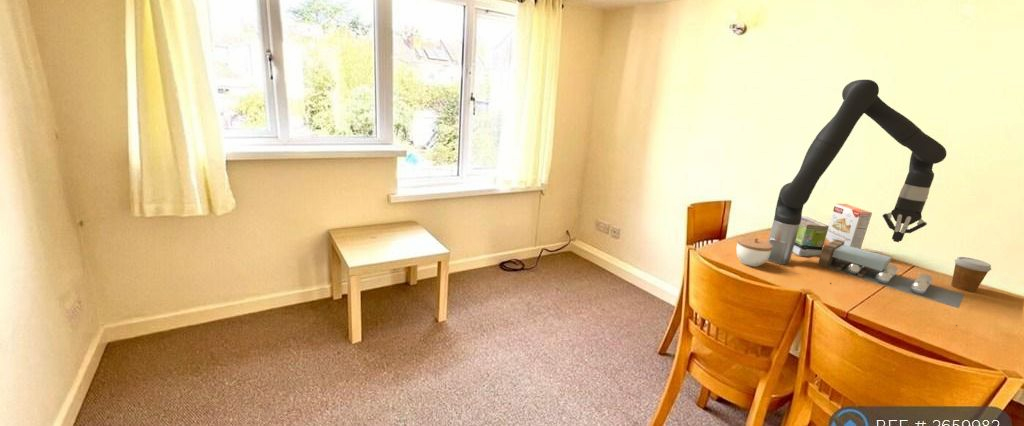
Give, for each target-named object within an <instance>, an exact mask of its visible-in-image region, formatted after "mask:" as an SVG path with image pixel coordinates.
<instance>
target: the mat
mask: <svg viewBox="0 0 1024 426" xmlns="http://www.w3.org/2000/svg"><path fill="white" fill-rule="evenodd" d="M843 262H845V260H842V259H838V260H837V261H836V262H834V263H833V264H831V265H830V266H828V267H827V269H829V270H832V271H836V272H839V273H842V274H845V275H849V276H851V277H855V278H858V279H862V280H865V281H867V282H868V281H869V282H872V283H875V284H878V285H880V286H884V287H887V288H891V289H894V290H897V291H900V292H903V293H907V294H910V295H914V296H917V297H920V298H924V299H927V300H930V301H933V302H936V303H939V304H944V305H945V306H950V307H953V308H957V309H959V307H960V305H961V303H962V300H963V299H964V296H965V294H963V293H961V292H958V291H953V290H950V289H947V288H943V287H939V286H935V285H932V284H930V285H929V287H928V288H927V290H926V291H925V293H923V294H921V295H917V294H914V293H912V292H911V290H910V287H911V285H912V284H913V283H914V281H915V280H916V279H911V278H907V277H905V276H900V275H899V274H898V275H897V274H895V275H894V277H893V278H892V279H891V280H890V281H889V282H888V283H886V284H880V283H878V282H877V281H876V279H875V277H876V275H877V274H878V273H879V272H880V270H877V269H873V268H872V269H871V270H870V271H869V272H868V273H867V274H866V275H864V276H863V277H862V278H861V277H857V275H858V273H857V274H855V275H851V274H849V273H847V271H846V267H847V266H846V267H845V268H844V269H842V270H841V271H838V270H836V267H838V266H839V265H841V264H842V263H843ZM851 263H852V262H851ZM851 263H850V264H851ZM850 264H849V265H850ZM865 268H866V267H865ZM863 269H864V268H863ZM863 269H862V270H863ZM862 270H861V271H862ZM861 271H860V272H861ZM860 272H859V273H860Z"/></svg>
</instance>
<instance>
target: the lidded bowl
mask: <svg viewBox="0 0 1024 426" xmlns="http://www.w3.org/2000/svg"><path fill="white" fill-rule="evenodd" d="M736 242H737V243H736V249H735V250H736V251H735V253H736V255H737V258H738V259H739V261H740V262H741V263H742V265H745V266H749V267H754V268H756V267H760V266H761V265H764V264H765V263H766V262H767V261H768V258H769V256H770V254H771V251H772V248H773V246H772V244H770V243H768V241H767V240H763V239H759V238H758V237H750V236H749V237H748V236H745V237H744V236H743V237H742V236H741V237H738V238H737V241H736Z"/></svg>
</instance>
